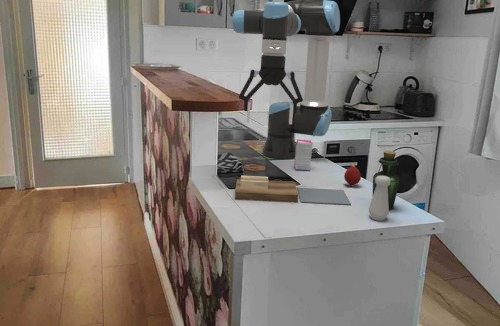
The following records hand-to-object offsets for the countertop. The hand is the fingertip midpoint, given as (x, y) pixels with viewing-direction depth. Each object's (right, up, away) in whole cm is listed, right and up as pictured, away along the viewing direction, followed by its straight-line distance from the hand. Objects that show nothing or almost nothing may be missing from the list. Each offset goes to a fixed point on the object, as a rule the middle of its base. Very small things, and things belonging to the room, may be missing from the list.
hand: (269, 122), depth 150 cm
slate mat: (+18, -24, +5) cm, 31 cm away
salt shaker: (+32, -30, -11) cm, 45 cm away
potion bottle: (+36, -27, -1) cm, 45 cm away
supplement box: (+15, -16, +36) cm, 42 cm away
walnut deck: (-1, -23, +5) cm, 24 cm away
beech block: (-5, -21, +5) cm, 22 cm away
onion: (+30, -21, +18) cm, 41 cm away
